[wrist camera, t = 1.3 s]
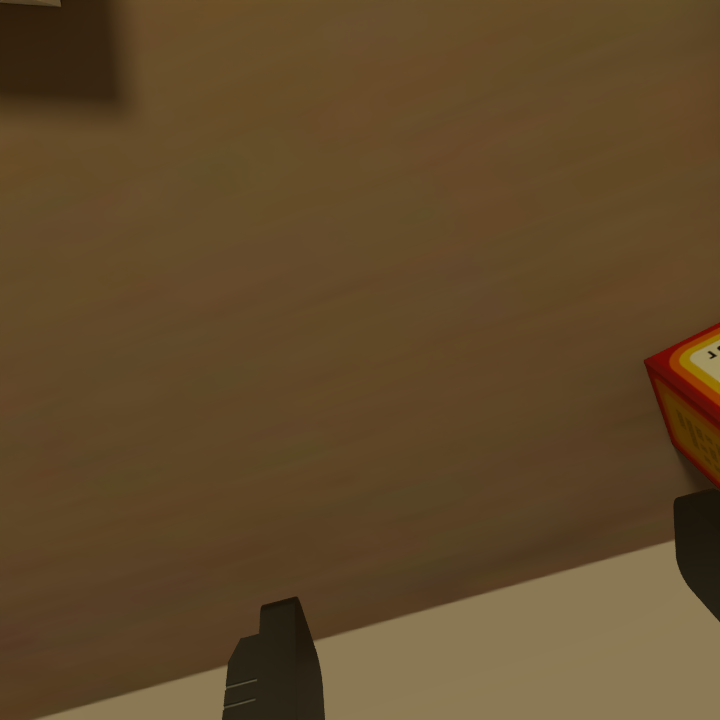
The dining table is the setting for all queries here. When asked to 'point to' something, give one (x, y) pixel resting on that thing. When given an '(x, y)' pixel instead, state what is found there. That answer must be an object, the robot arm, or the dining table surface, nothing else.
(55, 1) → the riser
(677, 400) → the baking soda box
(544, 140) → the dining table surface
